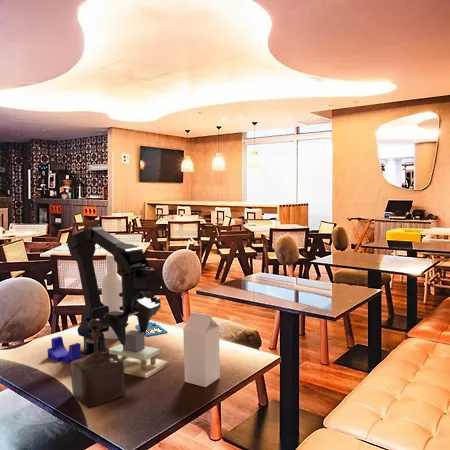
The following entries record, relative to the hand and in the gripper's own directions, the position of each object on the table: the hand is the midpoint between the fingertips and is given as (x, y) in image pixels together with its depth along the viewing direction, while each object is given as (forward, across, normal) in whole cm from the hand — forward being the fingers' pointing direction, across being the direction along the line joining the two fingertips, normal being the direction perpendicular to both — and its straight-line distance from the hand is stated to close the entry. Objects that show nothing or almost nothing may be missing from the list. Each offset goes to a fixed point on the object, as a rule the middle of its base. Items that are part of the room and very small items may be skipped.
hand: (133, 340), depth 137 cm
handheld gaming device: (+9, +30, +18) cm, 36 cm away
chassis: (+8, 0, 0) cm, 8 cm away
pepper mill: (+8, -18, -2) cm, 20 cm away
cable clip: (+8, -6, +24) cm, 26 cm away
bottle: (+8, +18, +25) cm, 32 cm away
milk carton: (+8, 0, -24) cm, 25 cm away
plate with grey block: (+4, 0, 0) cm, 4 cm away
